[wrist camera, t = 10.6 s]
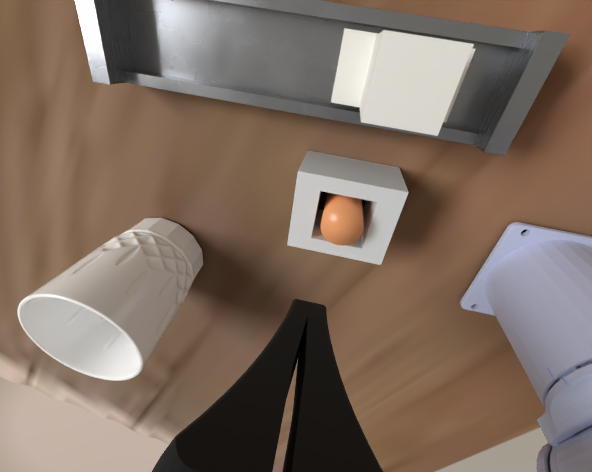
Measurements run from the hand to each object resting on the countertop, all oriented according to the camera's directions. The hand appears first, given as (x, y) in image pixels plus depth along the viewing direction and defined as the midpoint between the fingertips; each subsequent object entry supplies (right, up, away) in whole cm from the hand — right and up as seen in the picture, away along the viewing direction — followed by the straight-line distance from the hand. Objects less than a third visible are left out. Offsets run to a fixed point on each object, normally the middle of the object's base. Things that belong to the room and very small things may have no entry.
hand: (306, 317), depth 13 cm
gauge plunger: (+3, +6, +7) cm, 10 cm away
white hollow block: (+3, +7, +8) cm, 11 cm away
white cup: (-12, +2, +14) cm, 18 cm away
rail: (0, +14, +4) cm, 14 cm away
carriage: (+5, +12, +3) cm, 13 cm away
